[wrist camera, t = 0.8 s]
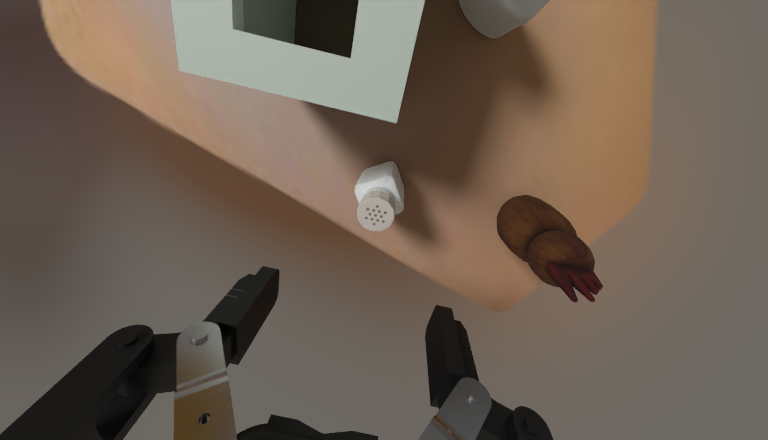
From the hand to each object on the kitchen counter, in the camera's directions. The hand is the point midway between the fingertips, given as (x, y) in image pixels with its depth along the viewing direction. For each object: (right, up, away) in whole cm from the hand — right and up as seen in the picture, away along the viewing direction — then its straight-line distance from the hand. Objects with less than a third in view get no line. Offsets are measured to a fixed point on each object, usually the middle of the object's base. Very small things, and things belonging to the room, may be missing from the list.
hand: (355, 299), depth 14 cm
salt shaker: (+1, +9, +18) cm, 20 cm away
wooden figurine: (+17, +5, +18) cm, 26 cm away
